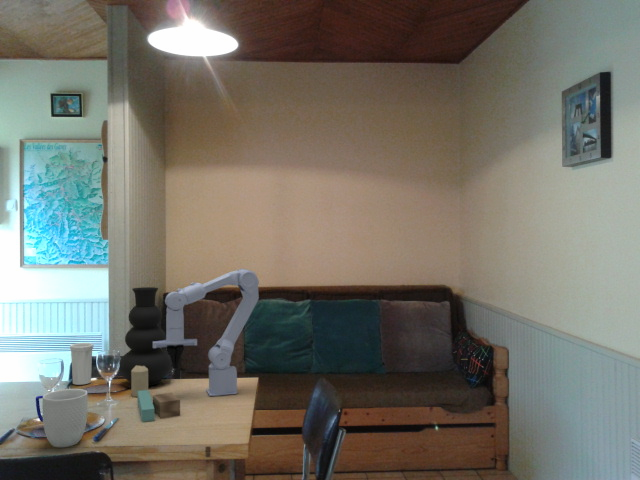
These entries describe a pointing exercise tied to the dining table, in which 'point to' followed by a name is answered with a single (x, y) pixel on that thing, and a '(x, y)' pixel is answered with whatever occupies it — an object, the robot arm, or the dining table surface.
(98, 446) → the dining table surface
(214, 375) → the robot arm
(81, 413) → the mug
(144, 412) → the teal rectangular bar
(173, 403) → the block
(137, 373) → the candle
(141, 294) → the vase
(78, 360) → the cup
